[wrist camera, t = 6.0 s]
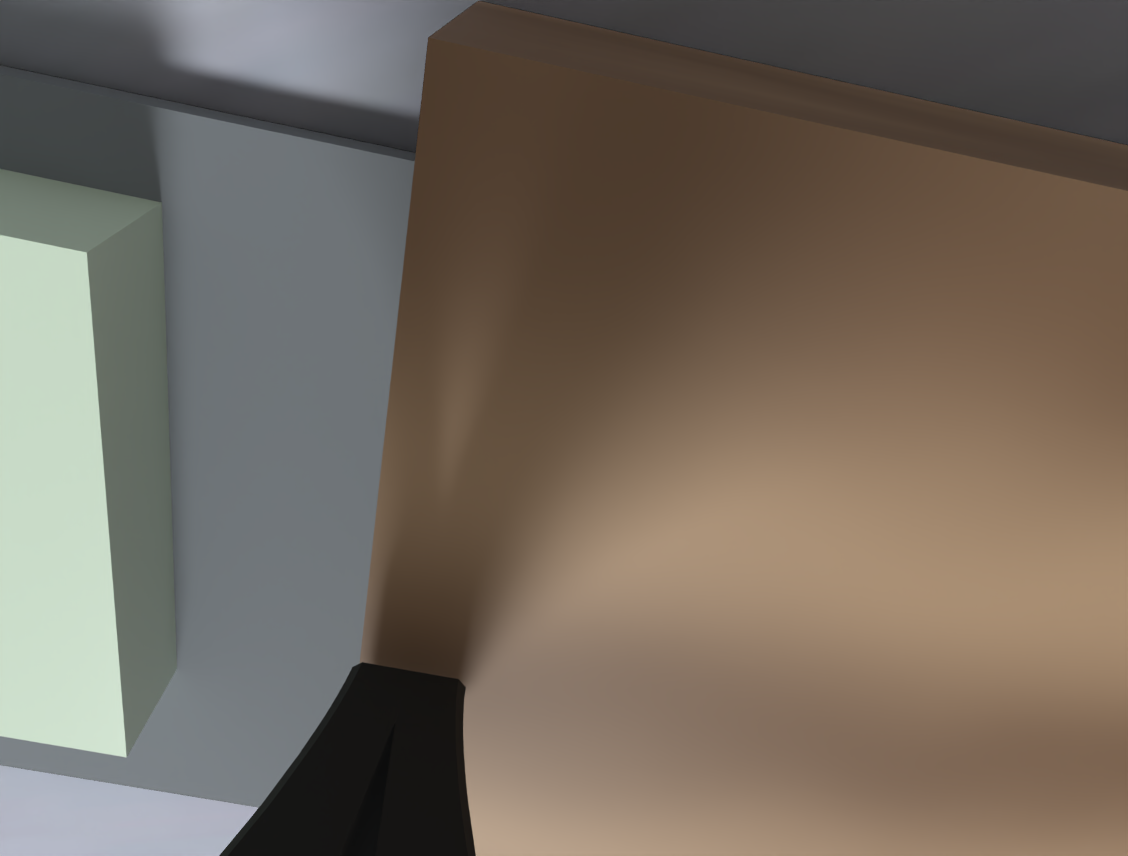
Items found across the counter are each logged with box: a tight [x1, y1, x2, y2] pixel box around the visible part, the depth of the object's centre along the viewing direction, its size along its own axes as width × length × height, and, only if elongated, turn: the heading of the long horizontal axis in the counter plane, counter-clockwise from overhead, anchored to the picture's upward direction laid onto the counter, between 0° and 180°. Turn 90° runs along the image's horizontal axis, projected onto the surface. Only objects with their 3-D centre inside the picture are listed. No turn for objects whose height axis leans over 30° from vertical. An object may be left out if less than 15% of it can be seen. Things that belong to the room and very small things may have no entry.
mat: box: [0, 65, 416, 807], centre depth 15 cm, size 14×9×1 cm, turn 169°
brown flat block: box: [360, 1, 1128, 856], centre depth 14 cm, size 16×14×4 cm
